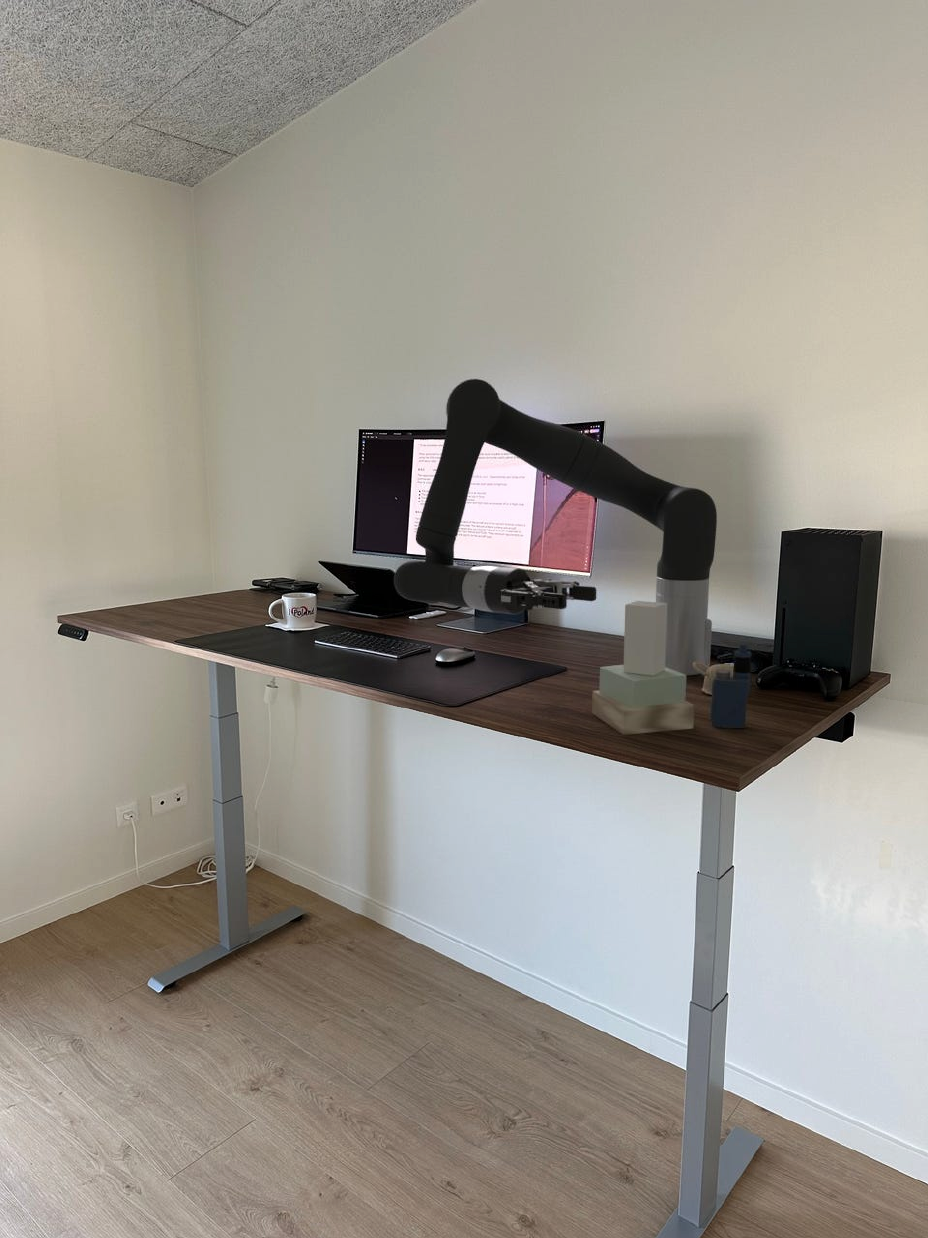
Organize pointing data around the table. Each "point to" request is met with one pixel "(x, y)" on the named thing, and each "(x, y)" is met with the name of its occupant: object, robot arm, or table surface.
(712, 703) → the vaping device
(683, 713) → the base block
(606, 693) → the top block
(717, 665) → the decorative ornament
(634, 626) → the white block
